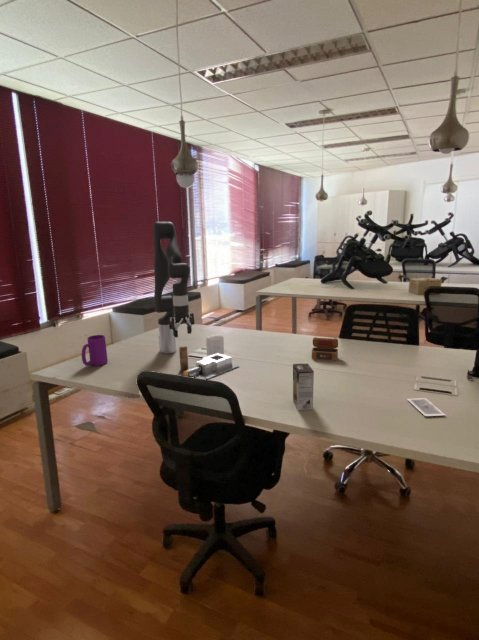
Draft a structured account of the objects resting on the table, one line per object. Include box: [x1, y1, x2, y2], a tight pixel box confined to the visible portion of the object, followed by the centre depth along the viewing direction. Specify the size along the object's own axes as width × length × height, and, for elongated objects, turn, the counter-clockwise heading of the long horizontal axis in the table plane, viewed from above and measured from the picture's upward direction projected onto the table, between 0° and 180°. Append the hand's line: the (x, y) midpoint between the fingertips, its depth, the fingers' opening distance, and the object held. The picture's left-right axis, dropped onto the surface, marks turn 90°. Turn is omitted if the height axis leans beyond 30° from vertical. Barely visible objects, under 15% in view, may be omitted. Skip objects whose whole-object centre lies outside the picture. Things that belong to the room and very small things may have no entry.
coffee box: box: [292, 363, 315, 411], centre depth 154 cm, size 9×6×16 cm
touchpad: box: [406, 397, 446, 417], centre depth 150 cm, size 8×15×2 cm, turn 2°
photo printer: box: [205, 333, 225, 357], centre depth 218 cm, size 10×4×12 cm, turn 123°
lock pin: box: [182, 366, 202, 377], centre depth 191 cm, size 3×13×3 cm, turn 137°
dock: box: [178, 353, 240, 380], centre depth 198 cm, size 18×25×5 cm
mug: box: [81, 334, 109, 367], centre depth 208 cm, size 9×16×15 cm, turn 156°
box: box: [311, 336, 339, 362], centre depth 209 cm, size 28×28×12 cm
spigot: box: [178, 345, 189, 371], centre depth 199 cm, size 4×4×12 cm
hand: (182, 335), depth 196 cm, fingers open, 8 cm apart
